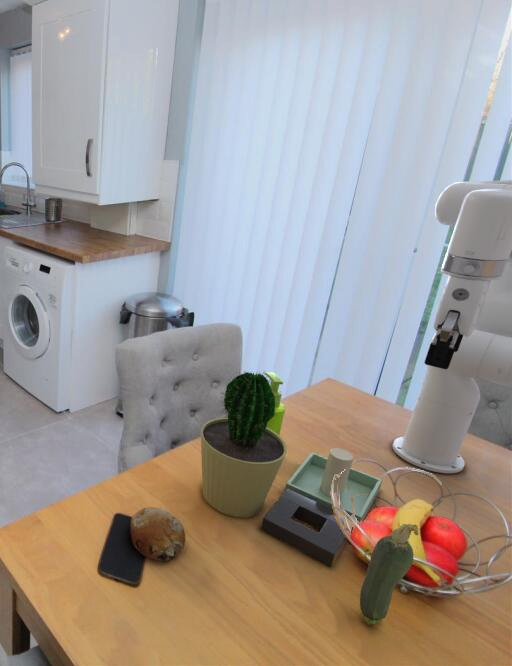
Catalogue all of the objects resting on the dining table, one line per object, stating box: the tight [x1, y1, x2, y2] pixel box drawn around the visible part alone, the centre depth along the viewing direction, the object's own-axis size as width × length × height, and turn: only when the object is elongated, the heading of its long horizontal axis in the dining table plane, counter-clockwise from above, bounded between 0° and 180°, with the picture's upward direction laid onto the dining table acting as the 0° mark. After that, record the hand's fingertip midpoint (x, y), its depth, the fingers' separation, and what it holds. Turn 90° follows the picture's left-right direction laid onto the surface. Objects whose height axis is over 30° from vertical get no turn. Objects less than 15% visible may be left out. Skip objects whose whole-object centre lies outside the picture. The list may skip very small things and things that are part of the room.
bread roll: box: [129, 506, 186, 562], centre depth 90 cm, size 10×10×8 cm
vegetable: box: [359, 523, 421, 626], centre depth 72 cm, size 4×4×20 cm
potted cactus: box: [200, 370, 288, 518], centre depth 95 cm, size 15×15×30 cm
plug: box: [320, 447, 354, 497], centre depth 99 cm, size 4×4×10 cm
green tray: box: [283, 451, 383, 522], centre depth 100 cm, size 15×13×3 cm
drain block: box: [260, 489, 348, 568], centre depth 91 cm, size 12×12×3 cm
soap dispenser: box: [263, 371, 286, 436], centre depth 111 cm, size 6×7×20 cm
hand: (441, 357), depth 87 cm, fingers open, 9 cm apart
